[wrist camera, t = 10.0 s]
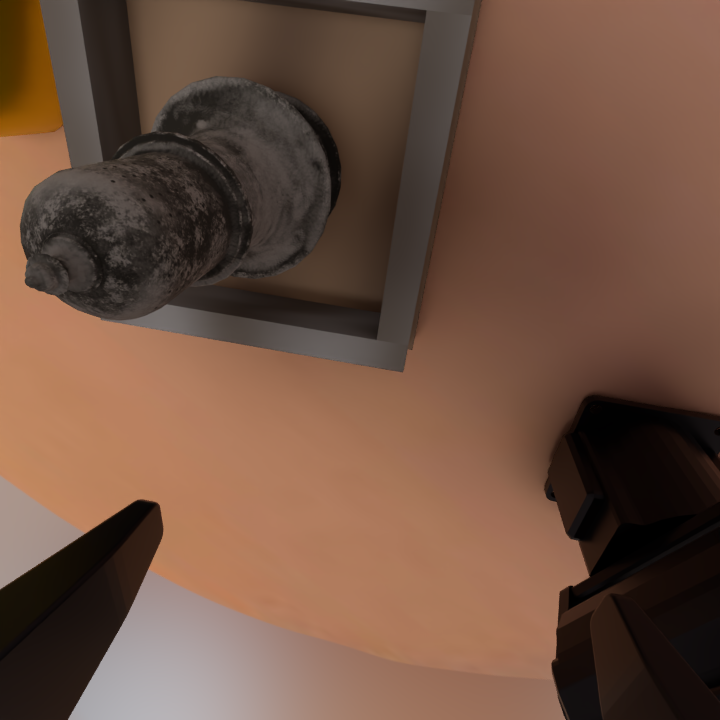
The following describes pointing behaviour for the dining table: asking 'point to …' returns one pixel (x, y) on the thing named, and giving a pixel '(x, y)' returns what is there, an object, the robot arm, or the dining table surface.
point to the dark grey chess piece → (185, 202)
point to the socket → (335, 108)
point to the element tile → (26, 72)
